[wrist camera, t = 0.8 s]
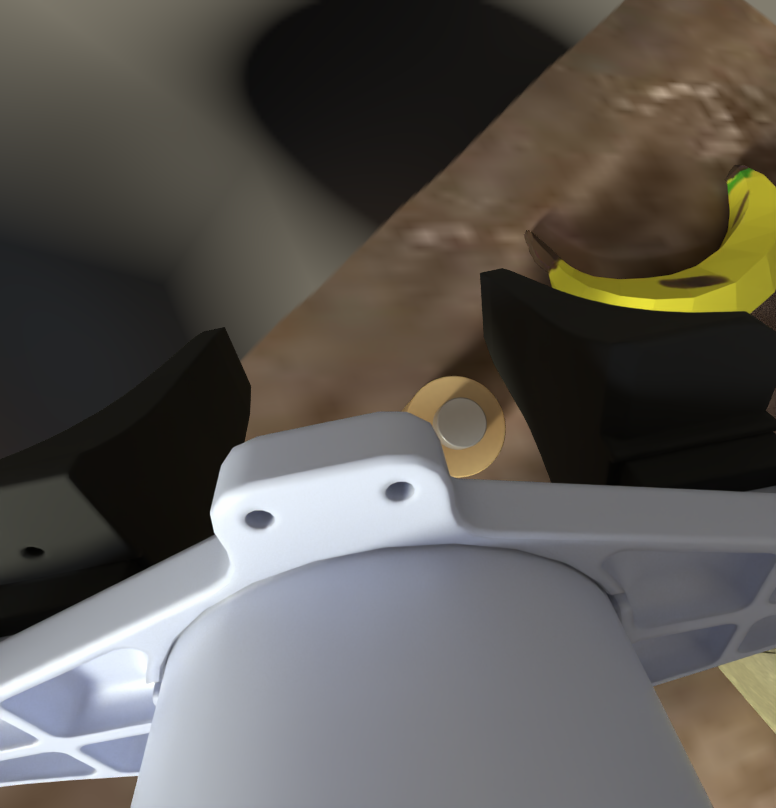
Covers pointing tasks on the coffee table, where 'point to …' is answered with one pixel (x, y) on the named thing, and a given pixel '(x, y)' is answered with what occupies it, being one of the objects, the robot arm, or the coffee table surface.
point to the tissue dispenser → (756, 682)
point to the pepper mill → (462, 422)
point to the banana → (703, 284)
